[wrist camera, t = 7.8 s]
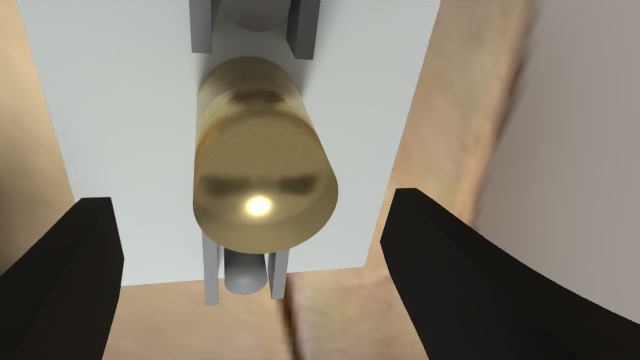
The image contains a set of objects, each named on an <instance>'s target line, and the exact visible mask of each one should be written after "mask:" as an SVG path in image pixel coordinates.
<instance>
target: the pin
mask: <svg viewBox="0 0 640 360" xmlns="http://www.w3.org/2000/svg"><path fill="white" fill-rule="evenodd" d="M338 193H339V192H338V183H337V178H336V176H335V174H334V171H333V169H332V167H331V164H330V162H329V160H328V158H327V155H326V153H325V151H324V148H323V146H322V144H321V142H320V139H319V137H318V135H317V133H316V130H315V128H314V126H313V123H312V121H311V119H310V117H309V114H308V112H307V110H306V107H305V105H304V103H303V101H302V98H301V96H300V94H299V91H298V89H297V87H296V85H295V83H294V81H293V79H292V78H291V76H290V75H289V74H288V73H287V72H286V71H285V70H284V69H283V68H282V67H280V66H279V65H277V64H276V63H274V62H272V61H269V60H267V59H264V58H259V57H252V56H246V57H237V58H233V59H230V60H227V61H225V62H223V63H221V64H220V65H218V66H216V67H215V68H214V69H213V70H211V71H210V73H209V74H208V75H207V76H206V77H205V79H204V80H203V82H202V84H201V86H200V89H199V92H198V96H197V111H196V135H195V158H194V182H193V212H194V216H195V219H196V221H197V223H198V225H199V227H200V228H201V230H202V231H203V232H204V233H205V234H206V235H207V236H208V237H209V238H210V239H211V240H213V241H214V242H216V243H217V244H219V245H221V246H223V247H225V248H227V249H230V250H233V251H237V252H241V253H248V254H267V253H275V252H279V251H283V250H287V249H290V248H292V247H295V246H297V245H299V244H301V243H303V242H305V241H307V240H308V239H310V238H311V237H313V236H314V235H315V234H316V233H318V232H319V231H320V230H321V229H322V228H323V227H324V226H325V225H326V223H327V222H328V221H329V219H330V218H331V216H332V214H333V212H334V210H335V208H336V205H337V201H338Z"/></svg>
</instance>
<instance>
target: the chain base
mask: <svg viewBox="0 0 640 360" xmlns="http://www.w3.org/2000/svg"><path fill="white" fill-rule="evenodd" d="M16 2H17V5H18V8H19V12H20V15H21V19H22V22H23V25H24V29H25V32H26V36H27V39H28V43H29V46H30V49H31V53H32V56H33V60H34V63H35V67H36V70H37V73H38V77H39V80H40V84H41V87H42V91H43V94H44V97H45V101H46V104H47V108H48V111H49V114H50V118H51V121H52V125H53V128H54V132H55V135H56V138H57V142H58V145H59V149H60V152H61V156H62V159H63V162H64V166H65V169H66V173H67V176H68V180H69V183H70V186H71V190H72V193H73V197H74V200H75V203H76V202H77V201H78V200H79V199H81V198H87V197H111V200H112V204H113V209H114V213H115V218H116V222H117V227H118V231H119V236H120V240H121V245H122V249H123V254H124V258H125V259H124V266H123V274H122V281H121V286H129V285H141V284H154V283H166V282H179V281H191V280H204V282H205V300H206V305H216V304H219V297H218V278H225V286H226V288H227V289H228V290H229V291H230V292H232V293H235V294H239V295H246V294H252V293H255V292H257V291H259V290H261V289H262V288H263V287H264V286H265V285H266V283H267V274H268V277H269V284H270V291H271V298H272V299H278V298H284V290H285V282H286V274H287V273H291V272H303V271H316V270H328V269H340V268H353V267H364V264H365V261H366V257H367V254H368V251H369V247H370V244H371V240H372V237H373V233H374V230H375V226H376V223H377V219H378V216H379V213H380V209H381V206H382V202H383V199H384V195H385V192H386V188H387V185H388V181H389V178H390V175H391V171H392V168H393V164H394V161H395V157H396V154H397V150H398V147H399V143H400V140H401V137H402V133H403V130H404V126H405V123H406V119H407V116H408V112H409V109H410V105H411V102H412V99H413V95H414V92H415V88H416V85H417V81H418V78H419V74H420V71H421V67H422V64H423V61H424V57H425V54H426V50H427V47H428V43H429V40H430V36H431V33H432V29H433V26H434V23H435V19H436V16H437V12H438V9H439V5H440V2H441V0H16ZM246 56H252V57H259V58H264V59H267V60H269V61H272V62H274V63H276V64H277V65H279V66H280V67H282V68H283V69H284V70H285V71H286V72H287V73H288V74H289V75H290V76H291V78H292V79H293V81H294V83H295V85H296V87H297V89H298V91H299V94H300V96H301V98H302V101H303V103H304V105H305V107H306V110H307V112H308V114H309V117H310V119H311V121H312V123H313V126H314V128H315V130H316V133H317V135H318V137H319V139H320V142H321V144H322V146H323V148H324V151H325V153H326V155H327V158H328V160H329V162H330V164H331V167H332V169H333V171H334V174H335V176H336V178H337V183H338V192H339V193H338V201H337V205H336V208H335V210H334V212H333V214H332V216H331V218H330V219H329V221H328V222H327V223H326V225H325V226H324V227H323V228H322V229H321V230H320V231H319V232H318V233H316V234H315V235H314V236H313V237H311V238H310V239H308V240H307V241H305V242H303V243H301V244H299V245H297V246H295V247H292V248H290V249H287V250H283V251H279V252H275V253H267V254H248V253H241V252H237V251H233V250H230V249H227V248H225V247H223V246H221V245H219V244H217V243H216V242H214V241H213V240H211V239H210V238H209V237H208V236H207V235H206V234H205V233H204V232H203V231H202V230H201V228H200V227H199V225H198V223H197V221H196V219H195V216H194V212H193V182H194V158H195V135H196V111H197V96H198V92H199V89H200V86H201V84H202V82H203V80H204V79H205V77H206V76H207V75H208V74H209V73H210V71H211V70H213V69H214V68H215V67H216V66H218V65H220V64H221V63H223V62H225V61H227V60H230V59H233V58H237V57H246Z"/></svg>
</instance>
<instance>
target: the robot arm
mask: <svg viewBox="0 0 640 360" xmlns="http://www.w3.org/2000/svg"><path fill="white" fill-rule="evenodd" d="M380 244H381V247H382V251H383V254H384V258H385V261H386V264H387V267H388V270H389V273H390V275H391V278H392V280H393V282H394V284H395V287H396V289H397V291H398V293H399V295H400V297H401V300H402V302H403V304H404V306H405V308H406V310H407V312H408V314H409V317H410V319H411V321H412V323H413V325H414V327H415V329H416V331H417V333H418V336H419V338H420V340H421V342H422V344H423V346H424V349H425V351H426V354H427V356H428V358H429V360H640V324H638V323H635V322H633V321H631V320H629V319H627V318H625V317H623V316H620V315H618V314H616V313H614V312H611V311H610V310H608V309H605V308H603V307H602V306H600V305H598V304H595V303H594V302H592V301H590V300H588V299H586V298H583V297H581V296H579V295H578V294H576V293H574V292H572V291H570V290H568V289H566V288H564V287H562V286H561V285H559V284H557V283H556V282H554V281H552V280H550V279H549V278H547V277H545V276H543V275H542V274H540V273H538V272H537V271H535V270H533V269H531V268H530V267H528V266H527V265H525V264H523V263H522V262H520V261H519V260H517V259H516V258H514V257H513V256H511V255H510V254H508V253H507V252H505V251H504V250H502V249H501V248H499V247H498V246H496V245H495V244H493V243H492V242H490V241H489V240H487V239H486V238H485V237H483V236H482V235H480V234H479V233H478V232H476V231H475V230H473V229H472V228H471V227H469V226H468V225H467V224H465V223H464V222H463V221H461V220H460V219H459V218H457V217H456V216H455V215H453V214H452V213H450V212H449V211H448V210H446V209H445V208H444V207H442V206H441V205H440V204H438V203H437V202H436V201H434V200H433V199H432V198H430V197H429V196H427V195H426V194H424V193H423V192H421V191H420V190H418V189H417V188H398V189H396V191H395V194H394V197H393V200H392V204H391V207H390V210H389V214H388V217H387V220H386V223H385V227H384V230H383V233H382V236H381V240H380ZM124 259H125V258H124V254H123V249H122V245H121V240H120V236H119V231H118V227H117V222H116V218H115V213H114V209H113V204H112V200H111V197H87V198H81V199H79V200H78V201H77V202H76V203H75V204H74V205H73V206H72V207H71V208H70V209H69V210H68V211H67V212H66V213H65V214H64V215H63V216H62V217H61V218H60V219H59V220H58V221H57V222H56V223H55V224H54V225H53V226H52V227H51V228H50V229H49V230H48V231H47V232H46V233H45V234H44V235H43V236H42V237H41V238H40V239H39V240H38V241H37V242H36V243H35V244H34V245H33V246H32V247H31V248H30V249H29V250H28V251H27V252H26V253H25V254H24V255H23V256H22V257H20V258H19V259H18V260H17V261H16V262H15V263H14V264H13V265H12V266H11V267H10V268H9V269H8V270H7V271H6V272H5V273H3V274H2V275H1V276H0V360H102V357H103V354H104V350H105V347H106V343H107V340H108V336H109V333H110V329H111V325H112V322H113V318H114V314H115V311H116V307H117V303H118V300H119V294H120V288H121V281H122V274H123V266H124Z"/></svg>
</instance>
